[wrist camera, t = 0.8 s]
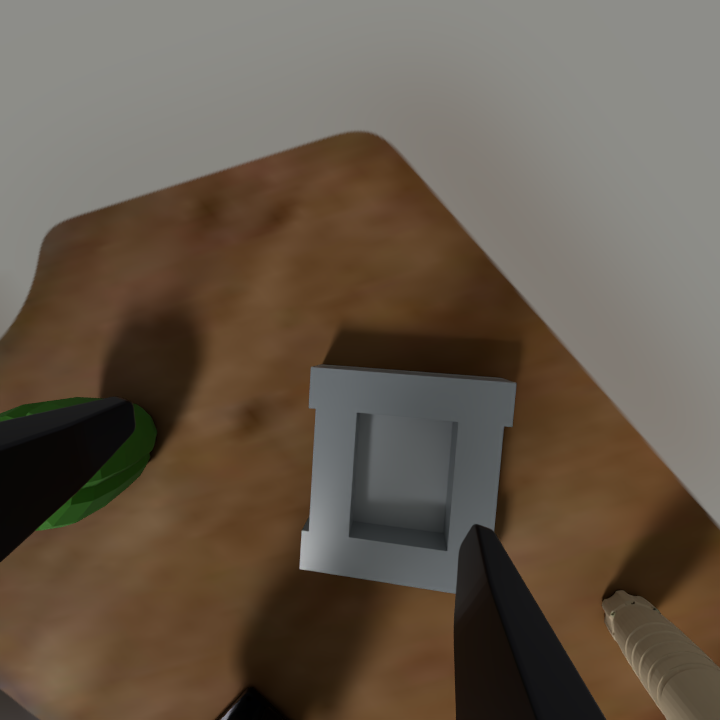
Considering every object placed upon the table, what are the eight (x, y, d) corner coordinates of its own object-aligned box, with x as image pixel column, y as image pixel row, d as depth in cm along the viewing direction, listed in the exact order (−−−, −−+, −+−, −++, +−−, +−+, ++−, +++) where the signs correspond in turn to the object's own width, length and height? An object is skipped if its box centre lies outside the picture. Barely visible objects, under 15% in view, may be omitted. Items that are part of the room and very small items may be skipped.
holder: (483, 567, 23) (495, 600, 20) (311, 542, 25) (299, 569, 22) (501, 377, 23) (516, 383, 20) (322, 364, 24) (311, 367, 21)
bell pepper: (93, 489, 27) (-81, 572, 17) (78, 394, 27) (-108, 424, 17) (183, 482, 26) (51, 566, 16) (167, 383, 26) (24, 407, 16)
